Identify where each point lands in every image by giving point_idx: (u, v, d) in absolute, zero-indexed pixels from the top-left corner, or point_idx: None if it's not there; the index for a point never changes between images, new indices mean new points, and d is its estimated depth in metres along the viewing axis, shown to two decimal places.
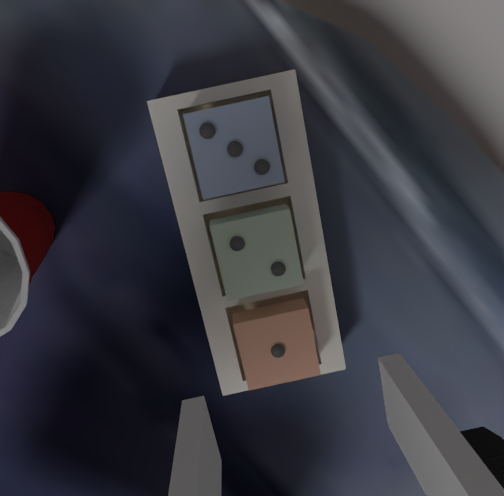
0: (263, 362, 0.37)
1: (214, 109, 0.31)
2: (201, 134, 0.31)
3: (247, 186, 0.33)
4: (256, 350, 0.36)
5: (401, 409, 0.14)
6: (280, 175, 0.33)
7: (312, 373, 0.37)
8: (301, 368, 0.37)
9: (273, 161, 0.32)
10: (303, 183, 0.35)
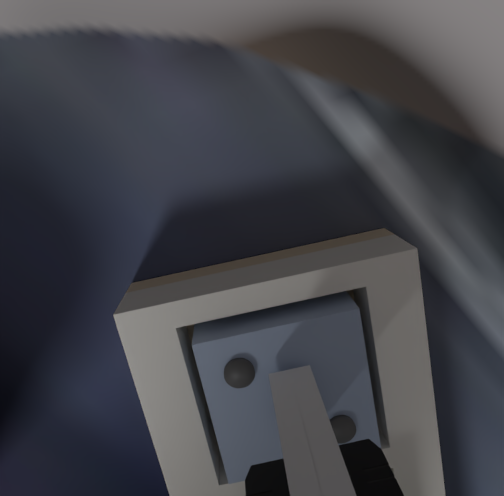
0: None
1: (253, 335, 0.16)
2: (228, 380, 0.16)
3: None
4: None
5: None
6: (374, 440, 0.17)
7: None
8: None
9: (362, 419, 0.17)
10: (418, 447, 0.18)
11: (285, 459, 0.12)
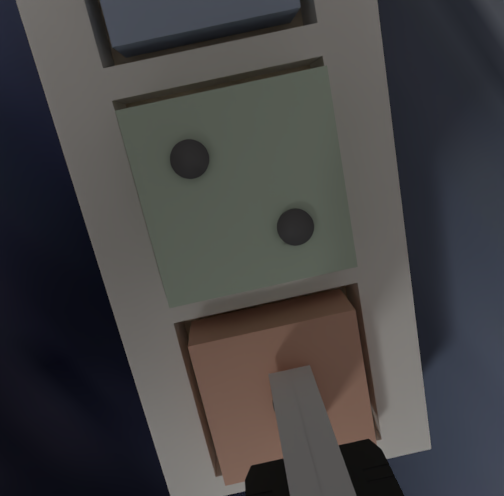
0: (256, 427, 0.17)
1: None
2: None
3: (214, 16, 0.14)
4: (239, 403, 0.17)
5: None
6: None
7: None
8: (337, 438, 0.17)
9: None
10: (353, 24, 0.15)
11: (285, 459, 0.12)
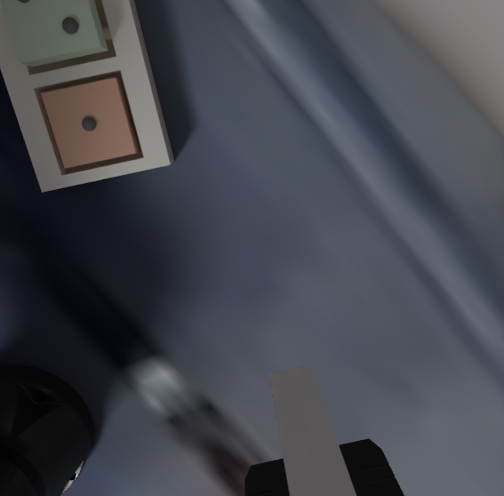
0: (76, 137, 0.37)
1: None
2: None
3: None
4: (67, 124, 0.37)
5: None
6: None
7: (127, 151, 0.38)
8: (115, 145, 0.37)
9: None
10: None
11: (285, 459, 0.12)
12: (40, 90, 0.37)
